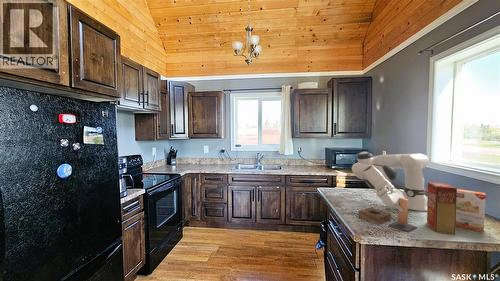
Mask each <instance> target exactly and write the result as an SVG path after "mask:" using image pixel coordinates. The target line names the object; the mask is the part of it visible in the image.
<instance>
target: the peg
mask: <svg viewBox="0 0 500 281" xmlns="http://www.w3.org/2000/svg"><path fill="white" fill-rule="evenodd" d="M398 204H399V206H400V207H402V208H403V209H404V211H402V212H400V211H399V210H398V209H397V221H398V223H399V224H402V225H407V224H408V215H409V214H408V213H409V209H408V199H405V198H399V203H398Z"/></svg>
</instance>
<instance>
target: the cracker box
mask: <svg viewBox="0 0 500 281" xmlns="http://www.w3.org/2000/svg"><path fill="white" fill-rule="evenodd" d="M486 195H487V194H486V192H481V191H473V190H466V189H460V188H457V199H456V227H461V228H464V229H468V228H469V230H473V229H474V230H473V231H477V230H478V231H477V232H481V231H482V232H481V233H485V232H484V231H485V217H486V216H485V215H486V198H487V196H486Z"/></svg>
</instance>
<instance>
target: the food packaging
mask: <svg viewBox="0 0 500 281" xmlns="http://www.w3.org/2000/svg"><path fill="white" fill-rule="evenodd" d="M457 189H458V188H456V187H454V186H452V185H450V184H448V183H445V182H433V181H428V182H427V211H426V224H427V225H428V226H429V228H430V229H432V230H433V231H434V232H435V233H439V234H440V233H441V234H445V233H446V234H448V235H453V236H454V235H455V236H456V228H457V226H456V199H457Z"/></svg>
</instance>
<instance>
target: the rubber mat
mask: <svg viewBox="0 0 500 281" xmlns="http://www.w3.org/2000/svg"><path fill="white" fill-rule="evenodd" d="M388 226H389V227H392V228H393V229H394V228H395V229H398V230H401V231H403V232H406V233H410V232H412V231H415V230H417V228H418V227H417V226H415V225H412V224H409V223H407V225H402V224H399V223H398V220H395V221H394V222H391V223H389V224H388Z"/></svg>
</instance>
